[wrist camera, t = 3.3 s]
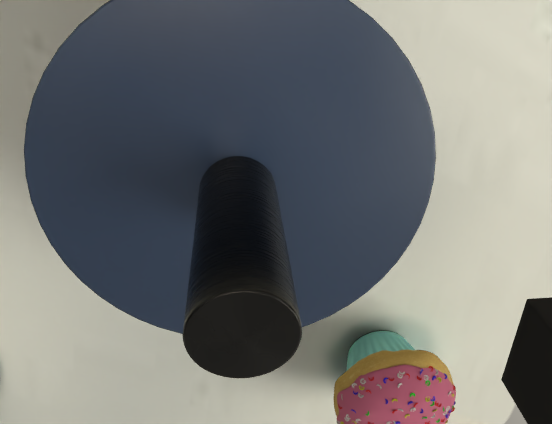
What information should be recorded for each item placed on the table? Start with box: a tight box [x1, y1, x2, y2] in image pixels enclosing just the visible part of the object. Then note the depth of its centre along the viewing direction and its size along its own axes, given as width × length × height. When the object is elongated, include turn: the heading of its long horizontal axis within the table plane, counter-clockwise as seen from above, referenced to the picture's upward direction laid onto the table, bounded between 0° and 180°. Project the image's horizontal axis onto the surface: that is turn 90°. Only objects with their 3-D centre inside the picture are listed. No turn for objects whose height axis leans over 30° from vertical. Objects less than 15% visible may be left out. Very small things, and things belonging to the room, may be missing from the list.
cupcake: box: [334, 331, 456, 424], centre depth 33 cm, size 9×8×12 cm
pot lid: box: [24, 0, 436, 378], centre depth 16 cm, size 16×16×9 cm
